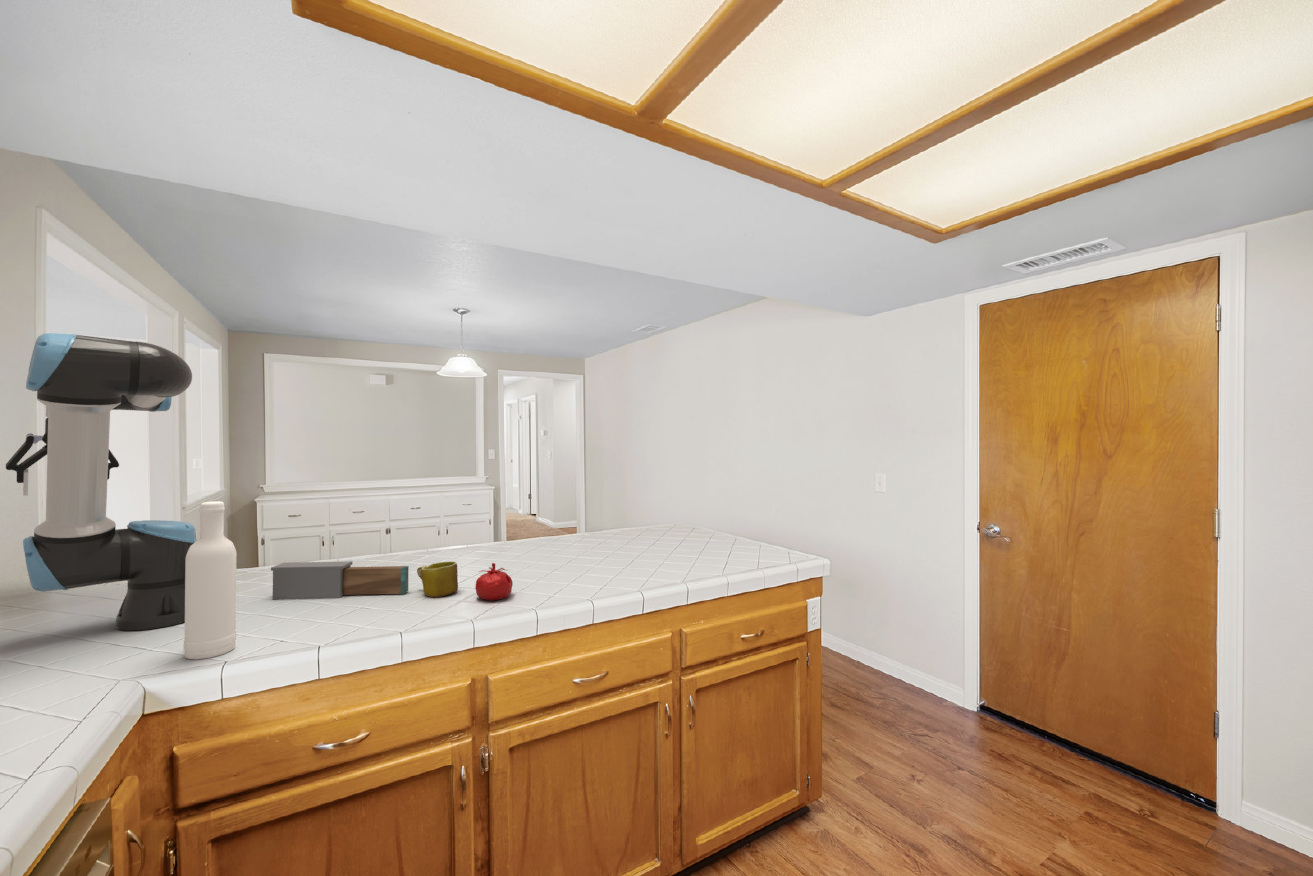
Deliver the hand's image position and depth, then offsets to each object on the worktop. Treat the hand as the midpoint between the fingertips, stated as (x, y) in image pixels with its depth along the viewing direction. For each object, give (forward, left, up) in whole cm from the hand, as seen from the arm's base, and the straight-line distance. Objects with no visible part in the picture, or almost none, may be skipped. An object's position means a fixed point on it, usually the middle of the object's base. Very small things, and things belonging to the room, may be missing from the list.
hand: (64, 491), depth 143 cm
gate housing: (-8, -69, -28) cm, 75 cm away
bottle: (-46, -69, -28) cm, 88 cm away
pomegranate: (-14, -118, -28) cm, 122 cm away
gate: (-8, -85, -28) cm, 90 cm away
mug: (-8, -101, -28) cm, 105 cm away
